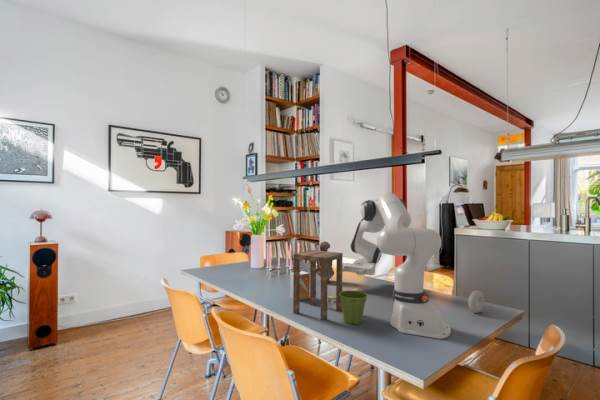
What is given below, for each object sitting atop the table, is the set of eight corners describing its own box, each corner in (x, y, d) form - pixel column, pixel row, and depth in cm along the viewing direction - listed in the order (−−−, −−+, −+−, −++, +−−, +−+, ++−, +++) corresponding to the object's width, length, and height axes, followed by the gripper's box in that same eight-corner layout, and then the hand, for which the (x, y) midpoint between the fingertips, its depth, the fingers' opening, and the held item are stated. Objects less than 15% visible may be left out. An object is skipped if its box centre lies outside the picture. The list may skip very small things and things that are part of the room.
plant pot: (362, 329, 124) (362, 300, 125) (334, 323, 130) (334, 295, 130) (371, 319, 135) (371, 292, 135) (344, 314, 141) (345, 288, 141)
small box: (296, 301, 159) (296, 274, 160) (289, 297, 165) (289, 272, 165) (309, 298, 164) (310, 273, 164) (302, 295, 169) (303, 270, 169)
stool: (342, 310, 146) (342, 253, 147) (324, 320, 133) (325, 257, 133) (312, 303, 155) (312, 249, 156) (293, 313, 142) (293, 254, 142)
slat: (361, 293, 175) (361, 289, 175) (332, 303, 158) (332, 298, 158) (356, 292, 177) (356, 288, 177) (327, 301, 160) (328, 297, 160)
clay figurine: (326, 279, 206) (327, 240, 206) (338, 282, 199) (338, 241, 199) (312, 282, 198) (312, 241, 198) (323, 285, 190) (323, 243, 191)
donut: (474, 316, 140) (474, 293, 140) (466, 313, 143) (466, 291, 143) (486, 311, 146) (486, 289, 146) (478, 309, 149) (478, 288, 149)
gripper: (344, 259, 190) (333, 263, 179) (377, 263, 179) (368, 267, 167) (344, 270, 190) (333, 274, 179) (377, 274, 179) (368, 279, 167)
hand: (350, 271), depth 173 cm, fingers open, 8 cm apart
